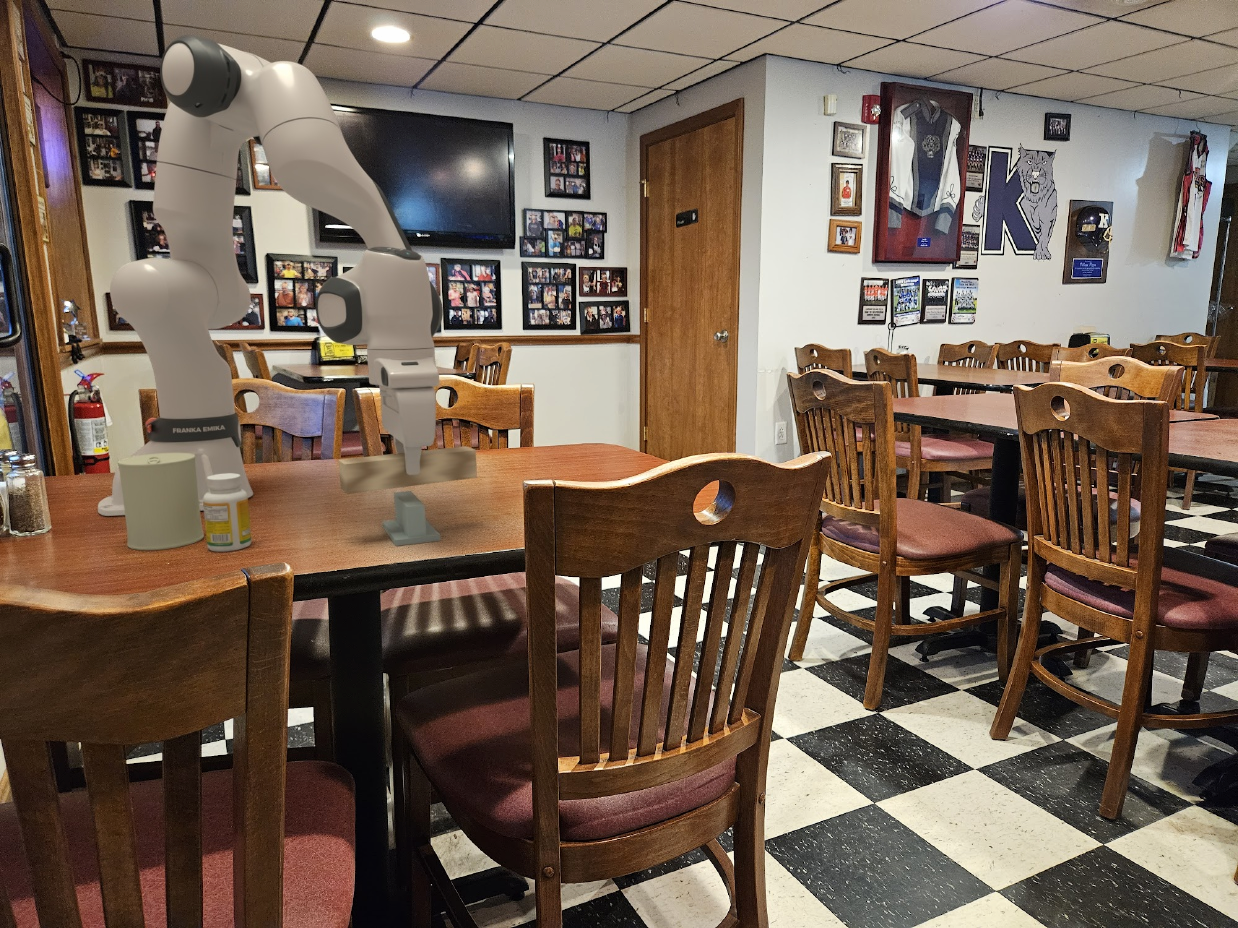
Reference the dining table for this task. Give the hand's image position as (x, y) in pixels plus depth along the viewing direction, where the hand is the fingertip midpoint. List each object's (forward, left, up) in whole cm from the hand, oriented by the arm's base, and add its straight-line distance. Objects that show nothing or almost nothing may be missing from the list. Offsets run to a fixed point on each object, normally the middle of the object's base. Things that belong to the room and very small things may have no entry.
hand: (408, 470), depth 112 cm
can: (-31, +11, -9) cm, 34 cm away
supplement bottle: (-23, +4, -9) cm, 25 cm away
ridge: (0, 0, -9) cm, 9 cm away
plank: (0, 0, -2) cm, 2 cm away
